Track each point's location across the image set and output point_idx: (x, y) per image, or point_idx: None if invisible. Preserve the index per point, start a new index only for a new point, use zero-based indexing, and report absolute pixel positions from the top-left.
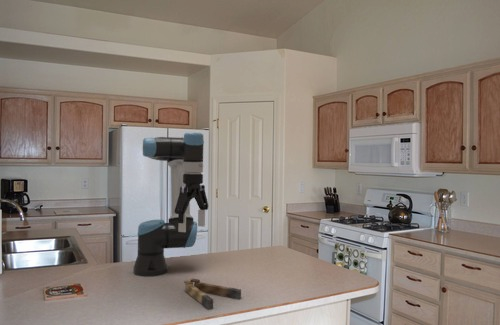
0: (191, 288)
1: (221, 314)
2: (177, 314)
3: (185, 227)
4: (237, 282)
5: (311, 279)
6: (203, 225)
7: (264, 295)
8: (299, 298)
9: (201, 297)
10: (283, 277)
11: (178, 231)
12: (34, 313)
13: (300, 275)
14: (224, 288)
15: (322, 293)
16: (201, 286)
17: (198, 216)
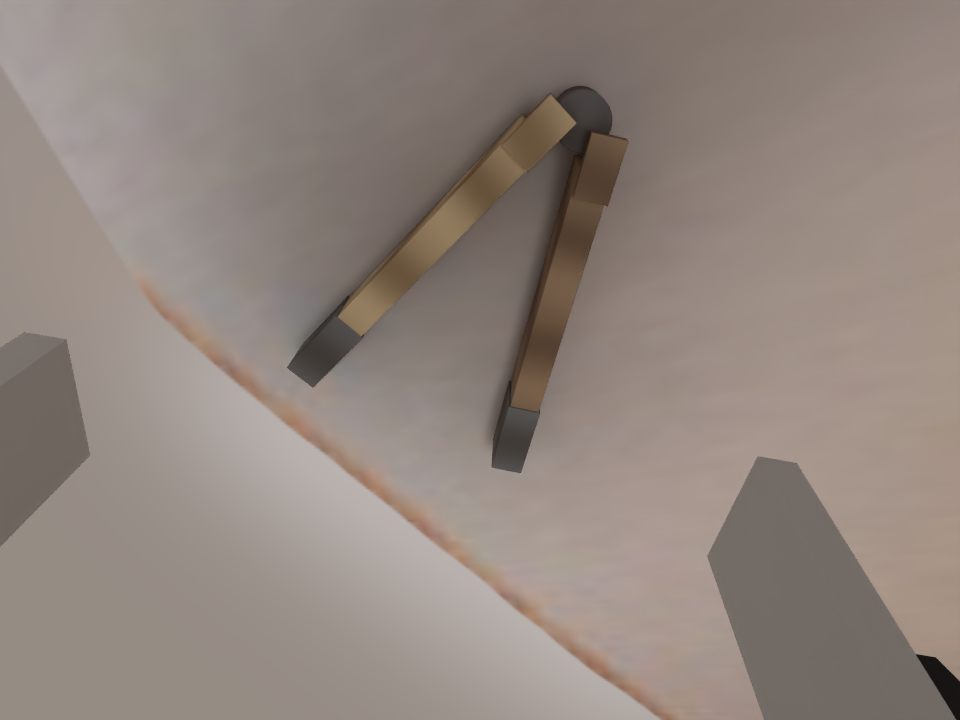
0: (448, 198)
1: (285, 412)
2: (176, 216)
3: (17, 512)
4: (801, 369)
5: None
6: (714, 569)
7: (591, 525)
8: (587, 637)
9: (345, 305)
10: (915, 567)
11: (20, 336)
12: None
13: (953, 628)
14: (515, 391)
15: (669, 695)
16: (558, 227)
17: (855, 648)
